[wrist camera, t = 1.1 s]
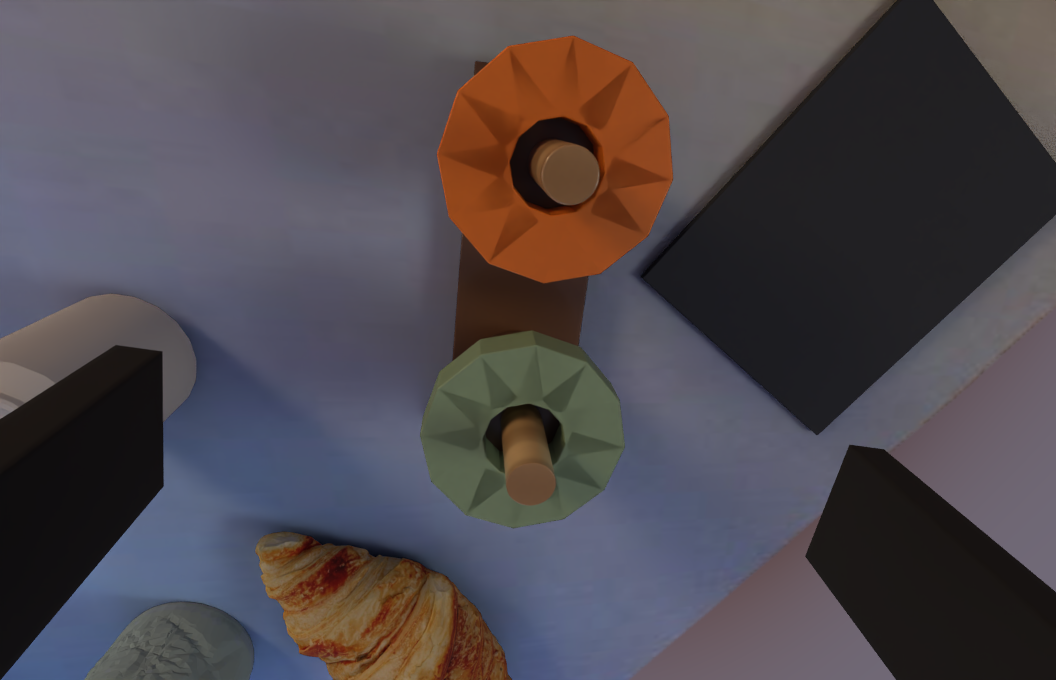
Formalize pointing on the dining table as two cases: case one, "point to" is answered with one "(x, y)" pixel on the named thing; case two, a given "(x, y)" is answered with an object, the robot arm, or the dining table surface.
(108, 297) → the can
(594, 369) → the green disc
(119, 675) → the grey embossed cup
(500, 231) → the orange disc
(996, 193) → the mat
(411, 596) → the croissant
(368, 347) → the dining table surface
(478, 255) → the peg rack
